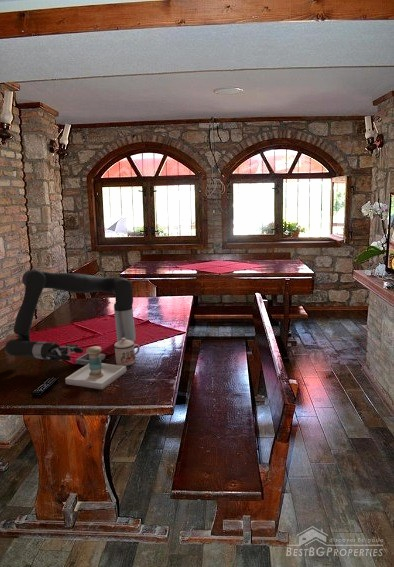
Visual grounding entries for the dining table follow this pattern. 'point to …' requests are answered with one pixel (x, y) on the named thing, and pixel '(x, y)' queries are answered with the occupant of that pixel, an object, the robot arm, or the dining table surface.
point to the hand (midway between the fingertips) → (76, 354)
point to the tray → (84, 380)
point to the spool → (95, 362)
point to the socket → (82, 360)
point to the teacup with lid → (125, 352)
